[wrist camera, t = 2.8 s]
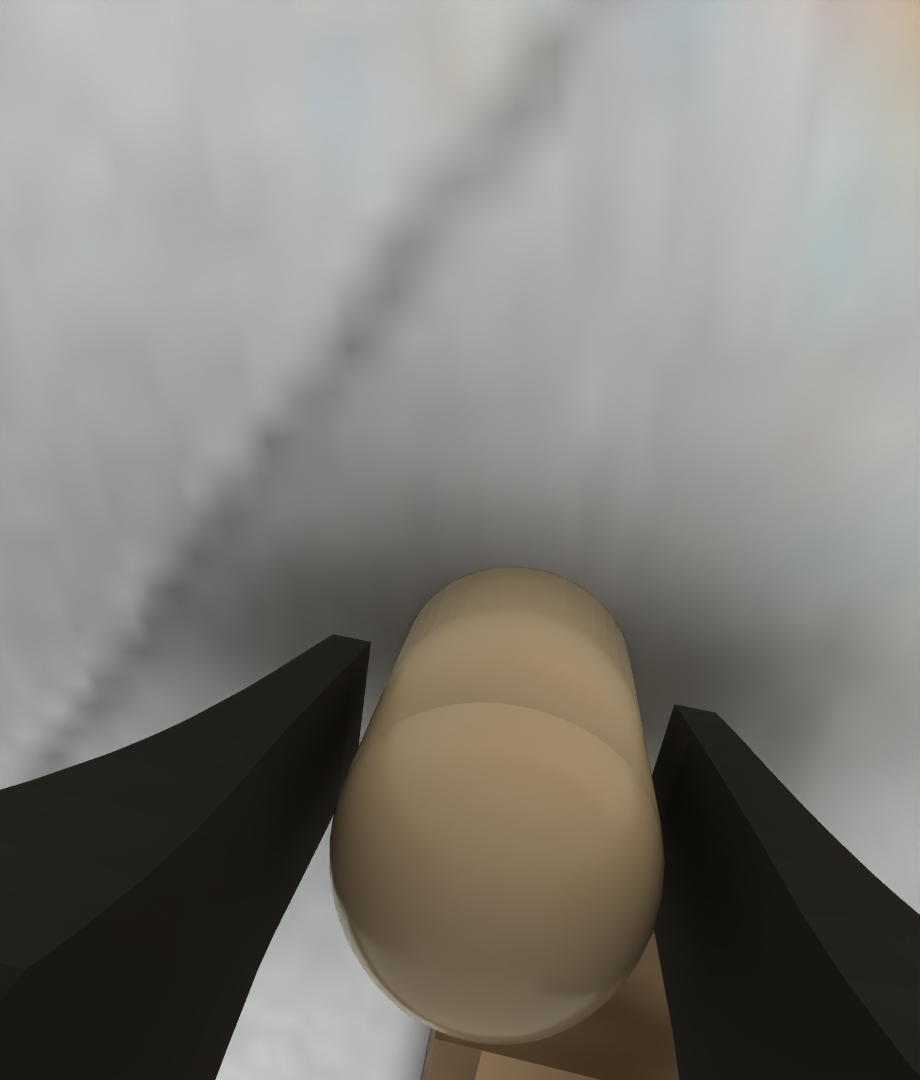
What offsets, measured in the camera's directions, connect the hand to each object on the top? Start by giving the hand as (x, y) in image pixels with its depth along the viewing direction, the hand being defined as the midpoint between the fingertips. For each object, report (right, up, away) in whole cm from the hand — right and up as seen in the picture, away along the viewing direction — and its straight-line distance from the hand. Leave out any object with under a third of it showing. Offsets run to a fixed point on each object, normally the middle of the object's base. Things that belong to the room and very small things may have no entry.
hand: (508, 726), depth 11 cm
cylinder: (0, +1, +2) cm, 2 cm away
